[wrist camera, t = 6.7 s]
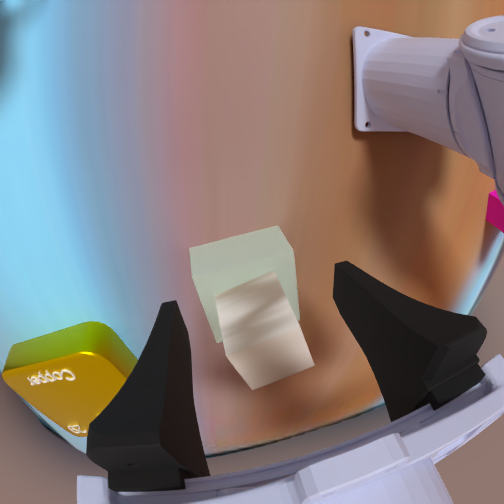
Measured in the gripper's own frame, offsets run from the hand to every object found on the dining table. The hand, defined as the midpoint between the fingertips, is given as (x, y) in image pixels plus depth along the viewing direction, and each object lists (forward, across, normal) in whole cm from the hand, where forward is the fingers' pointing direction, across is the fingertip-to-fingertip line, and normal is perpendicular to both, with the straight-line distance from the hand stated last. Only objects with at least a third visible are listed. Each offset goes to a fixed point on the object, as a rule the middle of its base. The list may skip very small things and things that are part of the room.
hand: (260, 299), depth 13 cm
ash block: (+7, 0, +6) cm, 9 cm away
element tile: (+11, +19, +16) cm, 27 cm away
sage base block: (+11, 0, +6) cm, 12 cm away
